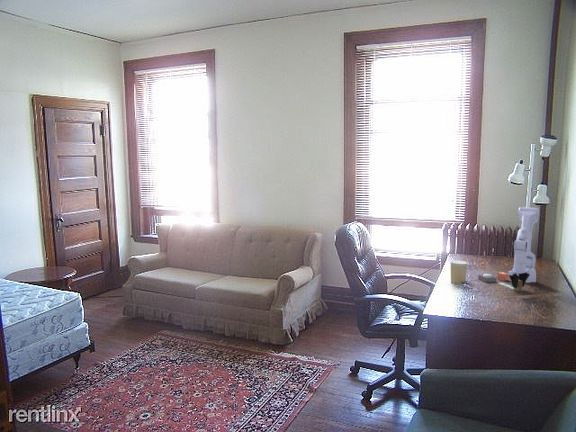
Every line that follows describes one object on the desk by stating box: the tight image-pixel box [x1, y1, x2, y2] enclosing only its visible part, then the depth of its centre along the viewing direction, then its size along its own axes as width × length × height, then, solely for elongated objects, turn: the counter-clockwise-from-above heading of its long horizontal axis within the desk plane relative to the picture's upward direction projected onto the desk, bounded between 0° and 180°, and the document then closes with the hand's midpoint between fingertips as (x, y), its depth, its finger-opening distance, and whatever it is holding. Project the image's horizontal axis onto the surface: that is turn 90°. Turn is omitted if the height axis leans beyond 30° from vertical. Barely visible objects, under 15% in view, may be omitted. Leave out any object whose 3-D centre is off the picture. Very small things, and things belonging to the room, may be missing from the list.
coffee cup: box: [449, 259, 468, 285], centre depth 258 cm, size 9×9×12 cm
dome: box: [482, 273, 493, 278], centre depth 257 cm, size 5×5×3 cm
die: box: [497, 271, 509, 282], centre depth 259 cm, size 4×4×4 cm
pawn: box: [513, 280, 523, 292], centre depth 240 cm, size 4×4×5 cm
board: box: [477, 274, 523, 292], centre depth 250 cm, size 19×25×4 cm
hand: (518, 286), depth 240 cm, fingers open, 5 cm apart
